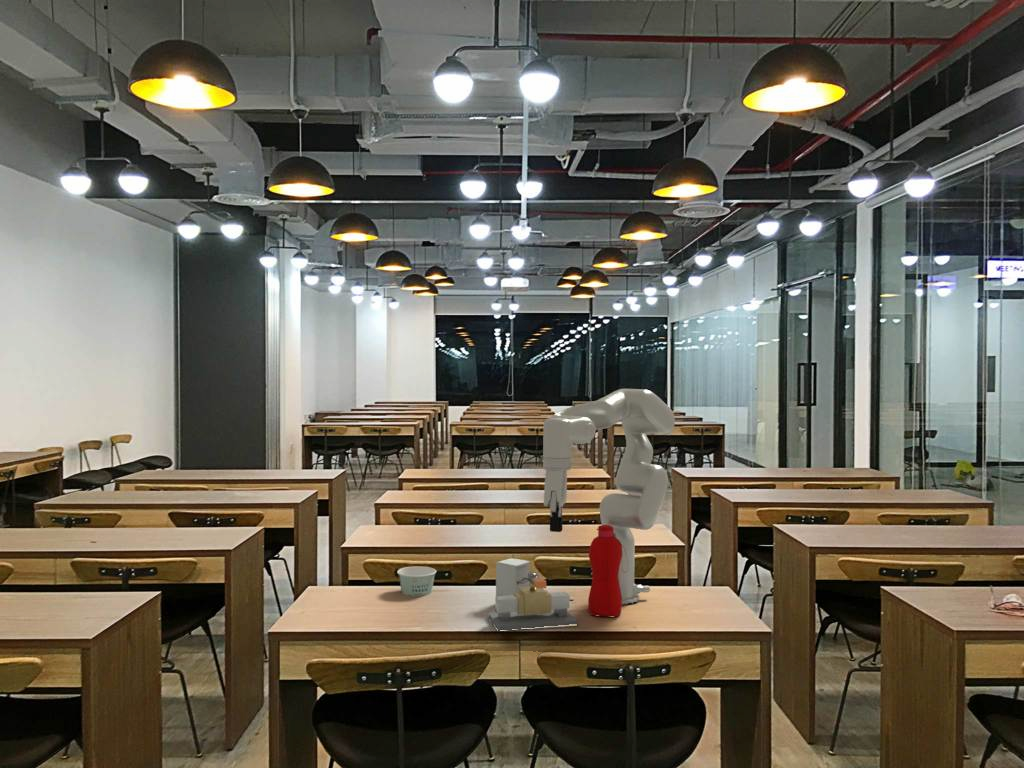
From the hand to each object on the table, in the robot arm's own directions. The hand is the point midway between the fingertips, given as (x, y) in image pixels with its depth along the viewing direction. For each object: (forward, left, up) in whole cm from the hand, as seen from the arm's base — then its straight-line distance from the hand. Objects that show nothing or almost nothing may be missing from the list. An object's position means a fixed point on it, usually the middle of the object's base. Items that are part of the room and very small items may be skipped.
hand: (556, 531), depth 237 cm
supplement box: (+7, -20, -26) cm, 33 cm away
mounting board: (+6, -2, -25) cm, 26 cm away
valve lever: (+6, +1, -14) cm, 15 cm away
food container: (+32, -40, -26) cm, 57 cm away
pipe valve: (+6, -2, -24) cm, 25 cm away
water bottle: (-17, -5, -26) cm, 31 cm away
